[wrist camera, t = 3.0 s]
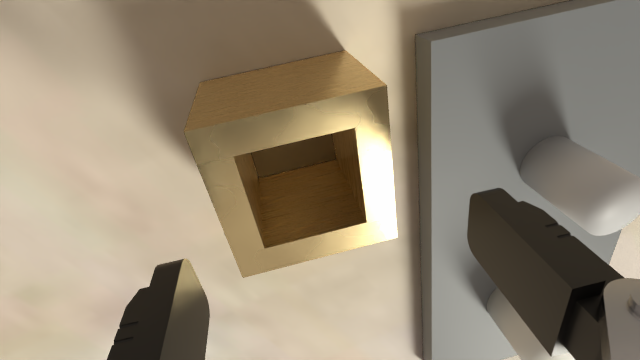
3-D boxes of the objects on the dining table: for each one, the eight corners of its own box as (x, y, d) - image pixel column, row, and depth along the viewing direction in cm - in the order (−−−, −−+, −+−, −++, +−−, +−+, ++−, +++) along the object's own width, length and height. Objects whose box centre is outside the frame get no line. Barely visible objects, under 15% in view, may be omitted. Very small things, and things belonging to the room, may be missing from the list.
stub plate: (423, 361, 28) (459, 440, 23) (415, 34, 15) (492, 67, 10) (567, 319, 29) (630, 388, 24) (675, -23, 16) (854, -17, 11)
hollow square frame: (242, 202, 18) (242, 277, 13) (200, 82, 14) (183, 132, 10) (360, 173, 18) (397, 237, 14) (345, 50, 15) (386, 85, 11)
